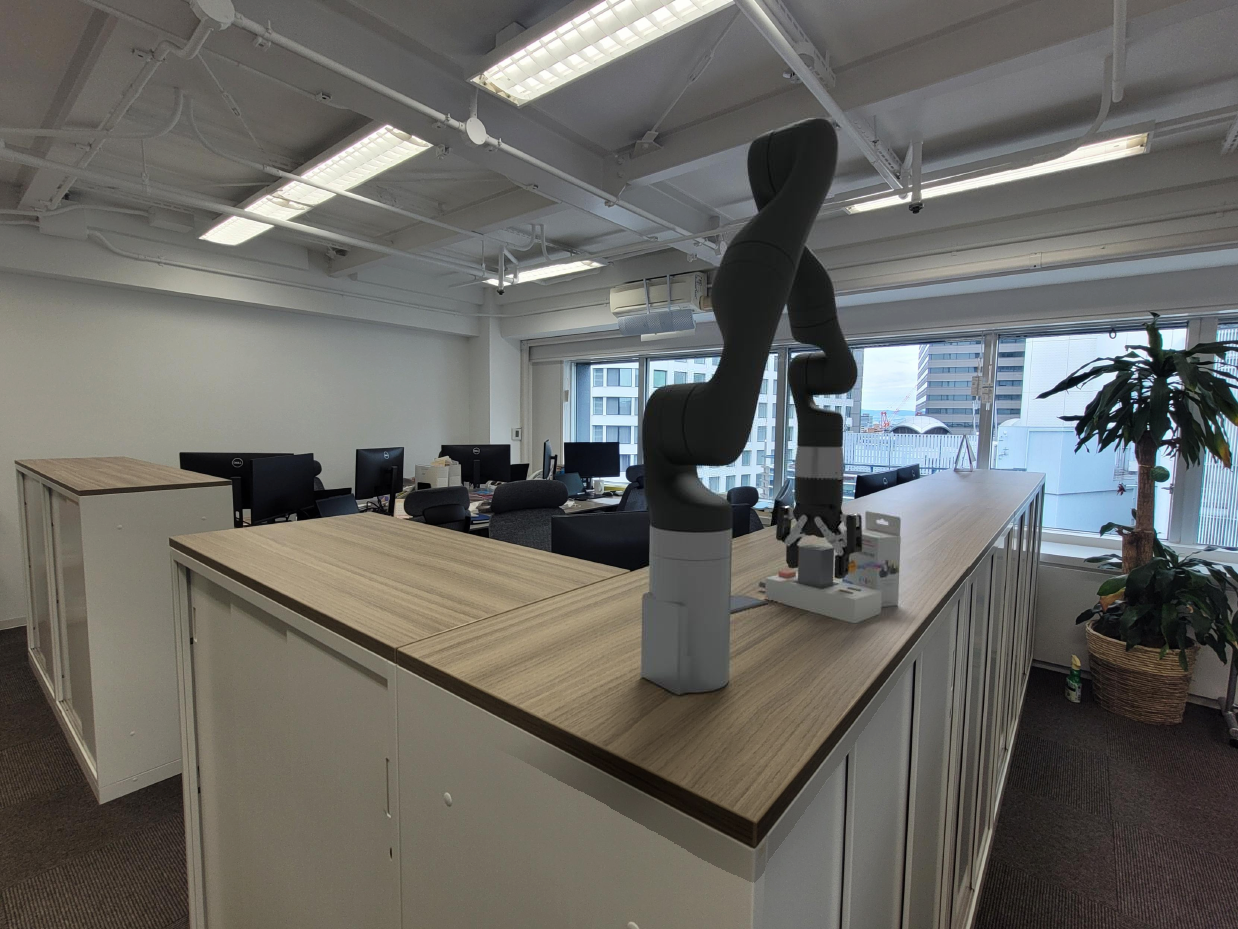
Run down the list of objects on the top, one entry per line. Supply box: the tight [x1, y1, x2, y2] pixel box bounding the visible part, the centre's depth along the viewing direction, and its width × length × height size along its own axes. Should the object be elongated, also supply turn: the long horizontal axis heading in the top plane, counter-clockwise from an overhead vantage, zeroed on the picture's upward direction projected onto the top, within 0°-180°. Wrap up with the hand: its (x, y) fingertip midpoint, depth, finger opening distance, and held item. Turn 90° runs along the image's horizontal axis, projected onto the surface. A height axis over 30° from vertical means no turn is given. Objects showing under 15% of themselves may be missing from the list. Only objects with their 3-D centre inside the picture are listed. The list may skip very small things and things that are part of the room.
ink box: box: [841, 510, 902, 608], centre depth 95 cm, size 8×5×15 cm, turn 17°
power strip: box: [758, 569, 882, 624], centre depth 93 cm, size 8×20×4 cm, turn 39°
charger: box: [797, 543, 835, 589], centre depth 92 cm, size 4×4×9 cm
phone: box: [730, 594, 769, 615], centre depth 91 cm, size 12×6×1 cm, turn 127°
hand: (816, 572), depth 92 cm, fingers open, 8 cm apart
